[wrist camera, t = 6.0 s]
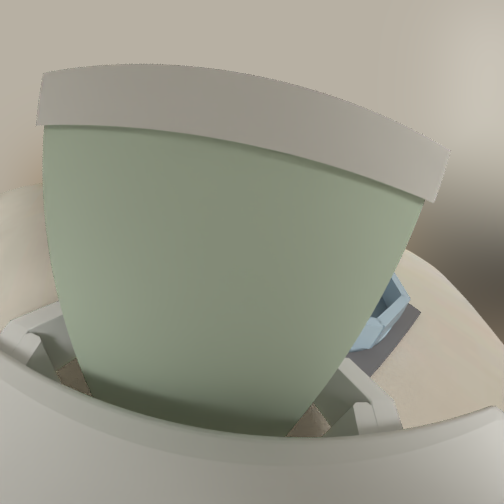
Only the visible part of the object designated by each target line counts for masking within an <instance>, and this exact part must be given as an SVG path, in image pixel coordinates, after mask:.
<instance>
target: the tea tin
mask: <svg viewBox="0 0 504 504" xmlns="http://www.w3.org/2000/svg"><path fill="white" fill-rule="evenodd" d="M36 125H44V138H43V199H44V213H45V224H46V232H47V240H48V247H49V254H50V260H51V265H52V271H53V276H54V281H55V285H56V290H57V294H58V298H59V302H60V306H61V310H62V313H63V317H64V321H65V324H66V327H67V331H68V334H69V337H70V340H71V343H72V346H73V349H74V352H75V354H76V357H77V360H78V363H79V365H80V368H81V370H82V373H83V375H84V378H85V380H86V382H87V385H88V387H89V389H90V392H91V394H92V396H93V398H96V399H98V400H101V401H104V402H107V403H109V404H112V405H115V406H118V407H121V408H124V409H127V410H130V411H134V412H137V413H140V414H144V415H147V416H151V417H155V418H159V419H163V420H167V421H171V422H175V423H180V424H184V425H189V426H194V427H200V428H205V429H211V430H217V431H224V432H232V433H240V434H249V435H260V436H275V437H285V436H286V435H287V434H288V432H289V431H290V430H291V429H292V428H293V427H294V425H295V424H296V423H297V422H298V421H299V419H300V418H301V417H302V416H303V414H304V413H305V412H306V411H307V409H308V408H309V407H310V406H311V404H312V403H313V402H314V400H315V399H316V398H317V396H318V395H319V394H320V392H321V391H322V390H323V388H324V387H325V386H326V384H327V383H328V382H329V380H330V379H331V377H332V376H333V374H334V373H335V372H336V370H337V369H338V367H339V366H340V364H341V363H342V361H343V360H344V358H345V357H346V355H347V354H348V352H349V351H350V349H351V348H352V346H353V344H354V343H355V341H356V340H357V338H358V336H359V335H360V333H361V331H362V330H363V328H364V327H365V325H366V323H367V321H368V320H369V318H370V316H371V315H372V313H373V311H374V309H375V307H376V306H377V304H378V302H379V300H380V298H381V296H382V295H383V293H384V291H385V289H386V287H387V285H388V283H389V281H390V279H391V277H392V275H393V273H394V271H395V269H396V267H397V265H398V263H399V261H400V259H401V257H402V254H403V252H404V250H405V248H406V245H407V243H408V241H409V239H410V236H411V234H412V232H413V229H414V227H415V224H416V222H417V219H418V217H419V214H420V212H421V209H422V206H423V204H424V201H425V200H428V201H430V202H432V203H434V202H435V199H436V196H437V193H438V191H439V188H440V185H441V182H442V179H443V176H444V173H445V169H446V166H447V163H448V160H449V156H450V153H451V150H449V149H448V148H446V147H444V146H443V145H441V144H439V143H437V142H436V141H434V140H432V139H430V138H428V137H426V136H424V135H423V134H421V133H419V132H417V131H415V130H413V129H411V128H409V127H407V126H405V125H403V124H401V123H398V122H396V121H394V120H392V119H390V118H387V117H385V116H383V115H381V114H378V113H376V112H374V111H371V110H369V109H366V108H364V107H361V106H358V105H356V104H353V103H351V102H348V101H345V100H343V99H340V98H337V97H334V96H331V95H328V94H325V93H321V92H318V91H315V90H311V89H308V88H304V87H301V86H298V85H294V84H290V83H286V82H282V81H277V80H274V79H269V78H264V77H260V76H255V75H250V74H244V73H238V72H232V71H226V70H219V69H211V68H203V67H193V66H180V65H163V64H162V65H161V64H116V65H99V66H88V67H78V68H70V69H64V70H57V71H51V72H46V73H43V77H42V82H41V88H40V95H39V103H38V110H37V120H36Z"/></svg>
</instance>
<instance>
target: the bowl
mask: <svg viewBox="0 0 504 504" xmlns="http://www.w3.org/2000/svg"><path fill="white" fill-rule="evenodd" d="M409 301H410V297H409V295H408V294H407V292H406V290H405V289H404V287H403V285H402V284H401V282H400V281H399V279H398V277H397V276H396V274H395V273H393V275H392V277H391V279H390V281H389V283H388V285H387V287H386V289H385V291H384V293H383V295H382V296H381V298H380V300H379V302H378V304H377V306H376V307H375V309H374V311H373V313H372V315H371V316H370V318H369V320H368V321H367V323H366V325H365V327H364V328H363V330H362V331H361V333H360V335H359V336H358V338H357V340H356V341H355V343H354V344H353V346H352V348H351V349H350V351H349V352H357V351H363V350H366V349H370V348H372V347H373V346H375V345H377V344H378V343H380V342H381V341H382V340H383V339H384V338H385V336H386V335H387V334H388V332H389V331H390V329H391V327H392V326H393V325H394V324H395V323H396V322H397V320H398V319H399V318H400V316H401V315H402V313H403V312H404V310H405V308H406V307H407V305H408V303H409Z"/></svg>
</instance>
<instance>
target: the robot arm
mask: <svg viewBox="0 0 504 504" xmlns="http://www.w3.org/2000/svg"><path fill="white" fill-rule="evenodd" d="M75 358H76V354H75V352H74V349H73V346H72V343H71V340H70V337H69V334H68V331H67V327H66V324H65V321H64V317H63V313H62V310H61V306H60V302H59V301H57V302H54V303H52V304H49V305H47V306H44V307H42V308H39V309H37V310H35V311H32V312H30V313H27V314H25V315H22V316H20V317H18V318H15V319H13V320H10V322H9V323H8V324H7V325H6V327H5V328H4V329H3V330H2V332H1V333H0V504H504V412H503V411H502V410H501V409H499V408H498V407H496V406H488V407H485V408H483V409H480V410H477V411H474V412H471V413H468V414H465V415H461V416H458V417H455V418H451V419H447V420H444V421H440V422H436V423H431V424H427V425H423V426H418V427H413V428H407V429H403V427H402V424H401V421H400V418H399V414H398V411H397V408H396V405H395V402H394V400H393V399H392V398H391V397H390V396H389V395H388V394H387V393H386V392H385V391H384V390H383V389H381V388H380V387H379V386H378V385H377V384H376V383H375V382H374V381H373V380H372V379H371V378H370V377H369V376H368V375H367V374H366V373H364V372H363V371H362V370H361V369H360V368H359V367H358V366H357V365H356V364H355V363H354V362H353V361H352V360H351V359H350V358H344V360H343V361H342V363H341V364H340V366H339V367H338V369H337V370H336V372H335V373H334V374H333V376H332V377H331V379H330V380H329V382H328V383H327V384H326V386H325V387H324V388H323V390H322V391H321V392H320V394H319V395H318V396H317V398H316V399H315V400H314V404H315V405H316V407H317V408H318V409H319V411H320V412H321V414H322V415H323V416H324V418H325V419H326V421H327V422H328V423H329V425H330V426H331V428H330V429H329V430H328V431H327V432H326V433H325V434H324V435H323V436H322V437H275V436H260V435H249V434H240V433H232V432H224V431H217V430H211V429H205V428H200V427H194V426H189V425H184V424H180V423H175V422H171V421H167V420H163V419H159V418H155V417H151V416H147V415H144V414H140V413H137V412H134V411H130V410H127V409H124V408H121V407H118V406H115V405H112V404H109V403H107V402H104V401H101V400H98V399H96V398H93V397H91V396H88V395H86V394H83V393H81V392H78V391H76V390H74V389H72V388H69V387H67V386H65V385H63V384H62V383H61V381H60V379H59V377H58V375H57V373H56V371H57V370H58V369H60V368H61V367H63V366H64V365H66V364H67V363H69V362H70V361H72V360H73V359H75Z"/></svg>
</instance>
